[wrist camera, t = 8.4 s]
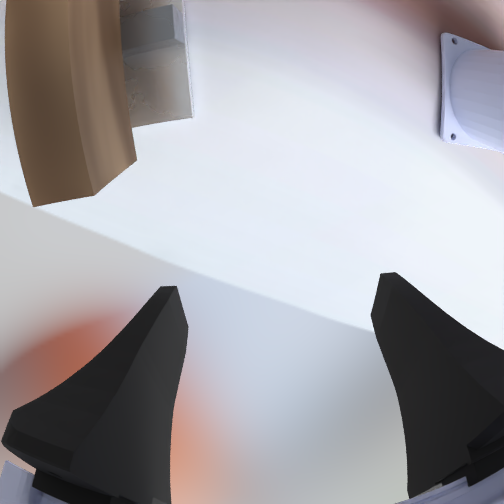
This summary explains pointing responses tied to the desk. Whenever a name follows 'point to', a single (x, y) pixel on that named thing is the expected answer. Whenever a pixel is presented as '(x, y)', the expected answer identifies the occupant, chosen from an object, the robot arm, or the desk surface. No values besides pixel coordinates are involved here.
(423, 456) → the robot arm
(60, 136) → the walnut rod
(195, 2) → the desk surface
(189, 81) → the balance stand
